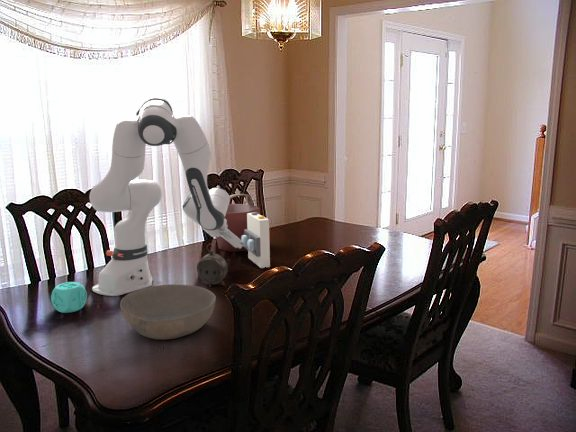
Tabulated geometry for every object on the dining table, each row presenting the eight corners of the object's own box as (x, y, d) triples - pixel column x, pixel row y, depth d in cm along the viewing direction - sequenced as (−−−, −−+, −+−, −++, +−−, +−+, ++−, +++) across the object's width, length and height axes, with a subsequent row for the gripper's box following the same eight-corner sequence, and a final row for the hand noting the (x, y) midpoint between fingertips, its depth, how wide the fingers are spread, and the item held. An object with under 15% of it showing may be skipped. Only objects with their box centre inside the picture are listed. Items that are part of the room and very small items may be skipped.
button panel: (257, 268, 214) (256, 219, 210) (245, 258, 228) (243, 211, 224) (270, 266, 216) (268, 217, 212) (256, 256, 230) (255, 210, 226)
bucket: (247, 238, 263) (245, 189, 258) (272, 247, 246) (270, 194, 240) (203, 246, 249) (200, 194, 244) (226, 256, 231) (224, 201, 226)
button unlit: (245, 248, 220) (244, 236, 219) (241, 245, 225) (241, 234, 224) (249, 247, 221) (248, 236, 220) (245, 244, 226) (245, 233, 225)
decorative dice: (69, 314, 169) (66, 291, 168) (52, 310, 173) (49, 287, 171) (88, 306, 176) (86, 283, 175) (71, 302, 180) (69, 280, 178)
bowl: (106, 329, 158) (103, 298, 156) (184, 304, 176) (182, 276, 174) (154, 360, 138) (151, 324, 136) (235, 328, 157) (234, 297, 155)
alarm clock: (228, 284, 196) (227, 242, 192) (223, 289, 191) (221, 246, 187) (202, 282, 199) (199, 240, 195) (195, 286, 193) (193, 244, 190)
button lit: (251, 252, 213) (251, 241, 212) (247, 249, 218) (247, 238, 217) (255, 252, 214) (255, 240, 213) (251, 249, 218) (251, 237, 217)
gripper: (228, 224, 198) (253, 246, 204) (214, 215, 217) (238, 235, 223) (217, 237, 198) (243, 259, 203) (204, 226, 216) (228, 246, 222)
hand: (240, 246), depth 213 cm, fingers closed
